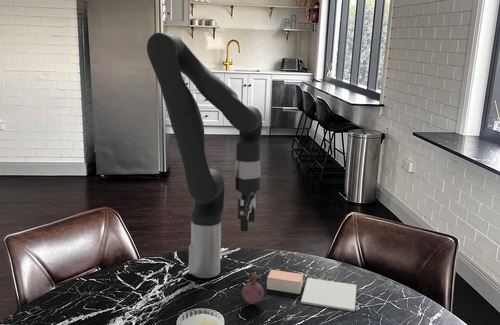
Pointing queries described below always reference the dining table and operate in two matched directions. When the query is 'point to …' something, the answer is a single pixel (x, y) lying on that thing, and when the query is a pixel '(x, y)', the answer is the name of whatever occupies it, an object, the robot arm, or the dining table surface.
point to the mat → (329, 294)
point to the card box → (285, 281)
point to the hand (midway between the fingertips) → (247, 226)
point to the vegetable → (252, 291)
